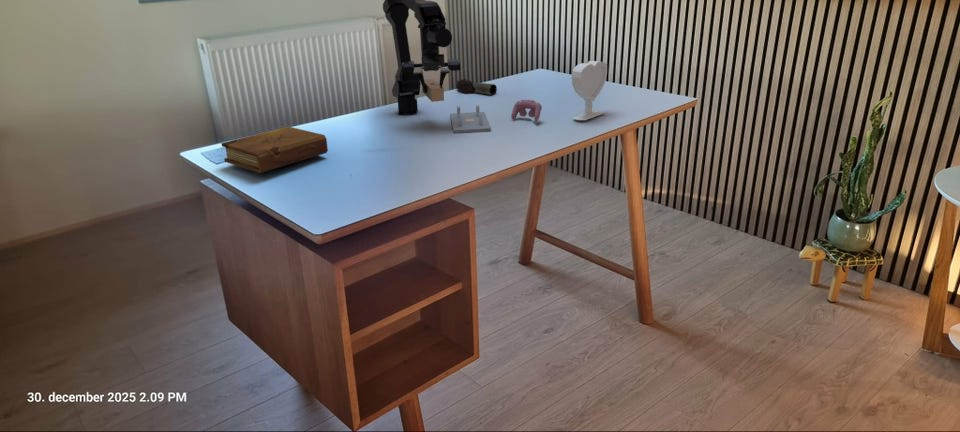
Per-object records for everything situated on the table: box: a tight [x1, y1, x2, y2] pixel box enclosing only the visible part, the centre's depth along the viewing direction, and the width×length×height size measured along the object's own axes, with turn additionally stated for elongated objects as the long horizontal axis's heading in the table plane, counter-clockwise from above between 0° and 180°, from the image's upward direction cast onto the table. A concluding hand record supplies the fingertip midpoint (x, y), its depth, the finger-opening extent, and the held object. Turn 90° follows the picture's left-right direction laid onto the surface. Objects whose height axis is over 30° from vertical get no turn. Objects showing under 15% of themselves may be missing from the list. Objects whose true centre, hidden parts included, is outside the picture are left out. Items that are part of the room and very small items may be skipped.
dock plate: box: [449, 111, 492, 134], centre depth 225 cm, size 12×22×1 cm, turn 5°
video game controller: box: [510, 99, 543, 122], centre depth 226 cm, size 10×5×7 cm, turn 65°
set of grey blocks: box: [456, 104, 483, 126], centre depth 224 cm, size 8×13×4 cm, turn 5°
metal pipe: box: [456, 78, 498, 96], centre depth 263 cm, size 18×7×6 cm, turn 53°
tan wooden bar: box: [421, 78, 445, 103], centre depth 219 cm, size 4×16×4 cm, turn 15°
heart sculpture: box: [571, 60, 608, 121], centre depth 226 cm, size 16×5×18 cm, turn 137°
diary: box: [221, 125, 329, 174], centre depth 197 cm, size 23×19×6 cm
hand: (432, 92), depth 219 cm, fingers closed on tan wooden bar, 4 cm apart
